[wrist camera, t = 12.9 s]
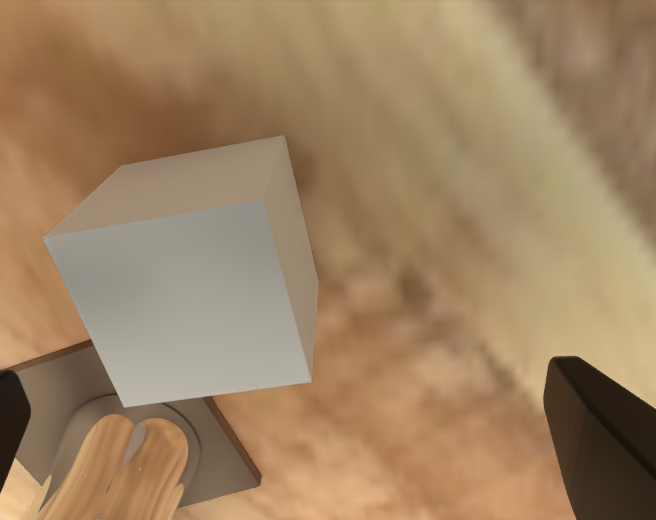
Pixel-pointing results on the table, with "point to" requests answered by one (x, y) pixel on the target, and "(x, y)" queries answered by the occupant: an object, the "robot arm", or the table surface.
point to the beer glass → (119, 464)
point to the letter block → (194, 273)
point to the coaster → (93, 382)
